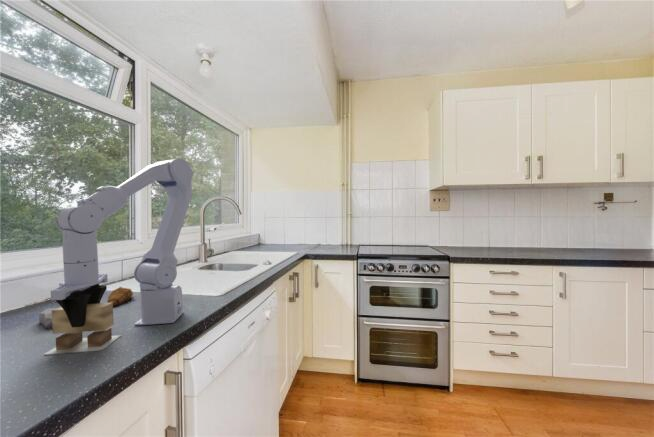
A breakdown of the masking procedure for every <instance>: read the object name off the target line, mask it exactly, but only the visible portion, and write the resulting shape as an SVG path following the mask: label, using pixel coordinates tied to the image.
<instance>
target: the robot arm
mask: <svg viewBox="0 0 654 437" xmlns="http://www.w3.org/2000/svg"><path fill="white" fill-rule="evenodd" d="M193 176H194V171H193V169H192V167H191V165H190V163H189V162H188V161H187V160H185V159H184V158H182V157H177V158H174V159H168V160H167V159H166V160H162V161H161V160H158V161H155V162H154V163H152V164H148V165H146V166H145V167H144V168H142V169H141V170H139V171H137V173H135V174H133V175H132V176H131V177H128V179H126V180H125V181H123V182H122V183H120V184H119V185H117V186H113V185H106V186H104V185H102V186H99V187H97V188H96V189H95V190H96V191H97V192H94V193H92V194H91V195H90V196H88V197H86V198H85V199H83V198H81V199H78V200H76V204H77V206H68V207H66V208H64V209H62V210H60V212H59V214H58V215H57V219H55V225H56V226H57V228H58V229H59V230H60V231H61V236H62V241H61V242H62V244H61V245H62V257H63V258H62V261H63V279H64V280H63V281H62V282H59V284H58V287H56V288H54V289H51V290H50V301H55V302H56V303H58V305H60V306H59V307H62V308H63V309H64V311H65V313H66V315H67V317H68V319H69V322H70V324H71V326H72V327H82V326H84V324H85V320H86V308H87V304H96V303H101V300H102V298H103V296H104V294H105V293H106V291H107V285H105V284H106V283H107V282H109V281H108V280H109V279H108V273H100V272H99V257H98V237H97V235H98V234H97V233H98V232H97V230H99V229H100V227H101V226H102V223H103V221H104V220H106V219H107V218H109V217H111V216H112V215H113V214H115V213H117V212H118V211H120V210H121V209H122V208H124V207H126V205H127V204H128V199H129V197H130V196H132V195H134V194H136V193H137V192H140V191H141V190H143V189H145V188H146V187H148V186H150V185H151V184H153V183H154V182H156V183H157V184H158V185H159V186H161V188H163V189H164V190H165V191H166V193H167V194H168V199H167V203H166V205H165V209H164V212H163V214H162V217H161V220H160V223H159V226H158V229H157V231H156V235H155V237H154V241H153V242H152V246H151V248H150V249H149V250H148V251H147V252H146V253H145V254H144V255H143V256H142V259H141V261H140V262H139V263H138V264H137V265H136V267H134V271H133V276H134V279H135V281H136V282H137V283H139V288H140V290H139V292H140V313H141V314H140V317H141V318H140V319H139V320H137V321H136V322H135V323H134V324H133V325H134V326H147V325H148V326H149V325H160V324H172V323H173V324H174V323H175V322H176V321H177V320H178V319H179V318H180V316H182V315H183V314H184V312H185V311H184V310H183V309H184V307H183V290H182V289H183V288H182V287H181V286H180V285H173V283H174V282H175V280H176V278H177V274H178V273H177V272H178V271H177V265H178V261H179V260H178V259H177V257H176V255H175V250H176V247H177V244H178V240H179V237H180V234H181V230H182V228H183V224H184V222H185V218H186V216H187V212H188V209H189V206H190V203H191V200H192V196H193V190H192V186H193V185H192V180H193ZM103 283H105V284H103ZM101 284H103V285H101Z"/></svg>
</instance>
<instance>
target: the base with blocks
mask: <svg viewBox="0 0 654 437" xmlns="http://www.w3.org/2000/svg"><path fill="white" fill-rule="evenodd" d="M121 337H122V335H121V334H118V335H113V334H112V327H109V328H107V329H106V330H98V331H92V332H91V333H90V334H88V335H87V337H84V336H83V332H72V333H62V335H59V336H57V337H56V338H55V347H54V348H52V349H49V351H46V352H45V353H43V356H48V355H51V356H53V355H61V354H63V355H64V354H72V353H73V354H74V353H85V352H86V353H89V352H95V351H96V352H97V351H99V352H100V351H104V350H105V349H106V348H108V347H109V346H110V345H112V344H113V343H114V342H115V341H117V340H118V339H119V338H121Z"/></svg>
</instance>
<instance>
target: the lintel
mask: <svg viewBox="0 0 654 437" xmlns="http://www.w3.org/2000/svg"><path fill="white" fill-rule="evenodd" d="M55 308H56V309H54V310H52V327H51V329H52V334H53V335H55V334H56V335H57V334H58V335H59V334H65V333H72V332H82V333H83V332H94V331H98V330H106V329H107V328H111V327H112V326H114V307H113V302H112V303H108V302H102V303H101V302H100V303H96V304H87V308H86V320H85V324H84V326H82V327H72V326H71V324H70V322H69V319H68V317H67V315H66V313H65V311H64V309H63V308H62V307H61V306H59V307H55Z"/></svg>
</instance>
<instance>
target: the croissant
mask: <svg viewBox="0 0 654 437" xmlns="http://www.w3.org/2000/svg"><path fill="white" fill-rule="evenodd" d="M133 295H134V293H133V291H132V288H128V287H126V288H125V287H122V286H120V287H118V288H116V289H113V290H112V291H111V292H110V294H109V295H108V299H107V303H112V302H113V308H115V307H117V306H121V305H123V304H124V303H126V302H128V301H130V299H131V298H132V296H133Z"/></svg>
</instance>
